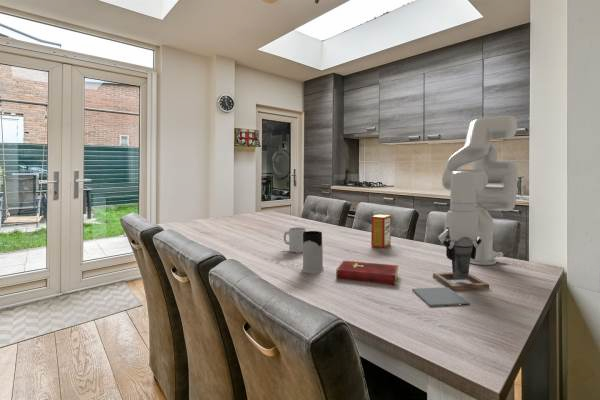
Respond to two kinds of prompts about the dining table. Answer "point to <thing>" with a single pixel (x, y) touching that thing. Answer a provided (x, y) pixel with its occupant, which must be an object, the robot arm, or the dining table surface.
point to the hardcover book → (367, 272)
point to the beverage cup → (462, 258)
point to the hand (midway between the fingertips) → (460, 258)
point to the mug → (295, 239)
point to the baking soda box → (381, 231)
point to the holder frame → (475, 285)
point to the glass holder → (312, 252)
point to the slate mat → (439, 296)
